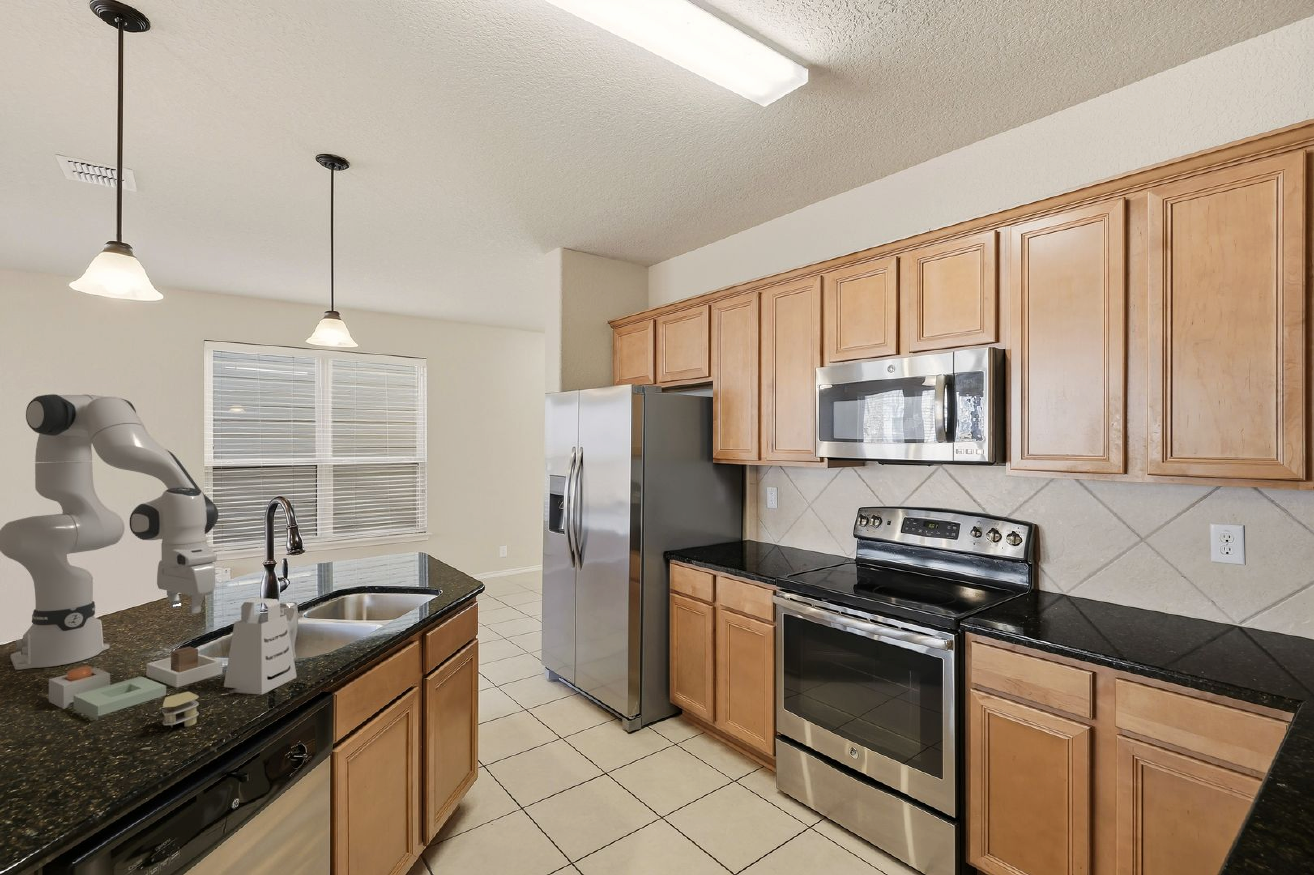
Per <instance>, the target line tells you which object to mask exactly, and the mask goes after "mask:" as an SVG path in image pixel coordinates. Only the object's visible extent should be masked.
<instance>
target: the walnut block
mask: <svg viewBox="0 0 1314 875" xmlns="http://www.w3.org/2000/svg"><path fill="white" fill-rule="evenodd" d="M198 654H199V649H198V648H196V647H192V646H186V647H182V648H179V649H176V650H171V651H170V657H171V670H173V671H176V672H178V673H180V672H183V671H187V670H190V669H193V668H197V667H198Z"/></svg>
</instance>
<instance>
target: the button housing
mask: <svg viewBox="0 0 1314 875" xmlns="http://www.w3.org/2000/svg"><path fill="white" fill-rule="evenodd" d="M108 685H111V673H110V672H107V671H105V670H103V669H99V668H98V667H92V676H91V677H87V678H83V679H79V680H76V681H72V682H70V681H68V673H67V674H64V675H61V676H56V677H52V678H48V702H49V703H51V704H53V705H55V706H57V707H59V708H61V709H62V710H64V709H68V708H72V707H74V695H76V694H80V693H83V692H87V691H90V690H94V689H98V688H101V687H105V686H108Z"/></svg>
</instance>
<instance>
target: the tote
mask: <svg viewBox="0 0 1314 875" xmlns="http://www.w3.org/2000/svg"><path fill="white" fill-rule="evenodd" d="M219 675H223V661H222V660H220V659H216V658H214V657H211V656H207V655H203V654H200V653H198V667H197V668H193V669H190V670H187V671H183V672H180V673H178V672H176V671H173V670H171V656H170V657H167V658H163V659H160V660H156V661H152V662H148V663H146V677H148V678H151V679H153V680H154V681H157V682H158V681H159V682H161V683H164V684H165V685H169V686H172V687H174V688H180V687H183V686H186V685H190V684H192V683H193V684H194V683H196V682H199V681H203V680H205V679H206V680H207V679H209V678H213V677H216V676H219Z"/></svg>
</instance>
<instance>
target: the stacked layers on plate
mask: <svg viewBox="0 0 1314 875" xmlns="http://www.w3.org/2000/svg"><path fill="white" fill-rule="evenodd" d="M199 697H200V696H199V695H198V694H195V693H193V692H191V691H185V692H181V693H177V694H173V695H169V696H166V697H164V700H163V704H162V707H163V710H162V714H163V716H164V717H163V719H162V724H163V726H170V727H171V728H173V726H174V725H177V724H179V723H182V725H184V727H190V726H193V725H195V724H197V717H198V716H199V714H200V713H199V711H197V707H198V706H199V702H198V701H197V699H198V698H199Z"/></svg>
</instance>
